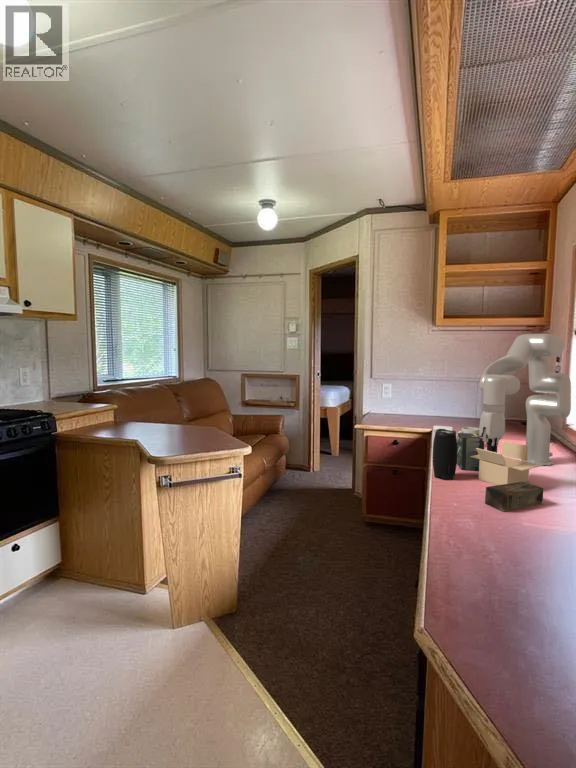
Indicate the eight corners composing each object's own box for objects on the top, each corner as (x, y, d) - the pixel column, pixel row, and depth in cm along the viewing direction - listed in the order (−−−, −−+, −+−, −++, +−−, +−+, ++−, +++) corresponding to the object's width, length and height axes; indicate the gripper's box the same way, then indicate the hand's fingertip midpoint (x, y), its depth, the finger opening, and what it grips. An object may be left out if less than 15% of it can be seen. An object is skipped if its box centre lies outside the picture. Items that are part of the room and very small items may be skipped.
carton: (488, 471, 176) (489, 452, 175) (541, 486, 157) (542, 465, 156) (467, 476, 169) (468, 456, 168) (520, 492, 150) (521, 470, 149)
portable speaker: (431, 473, 173) (433, 427, 171) (455, 475, 170) (457, 429, 168) (432, 479, 165) (433, 431, 163) (456, 481, 162) (458, 433, 160)
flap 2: (501, 454, 170) (502, 454, 170) (527, 460, 161) (527, 460, 161) (502, 440, 169) (502, 440, 169) (527, 445, 160) (528, 445, 160)
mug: (479, 446, 222) (480, 428, 221) (477, 449, 214) (478, 430, 213) (458, 443, 228) (459, 425, 227) (455, 446, 220) (456, 428, 219)
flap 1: (476, 447, 161) (475, 448, 161) (501, 453, 152) (501, 454, 152) (481, 458, 163) (481, 459, 163) (506, 465, 154) (506, 465, 154)
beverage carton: (544, 504, 138) (545, 486, 138) (503, 513, 131) (504, 493, 131) (522, 496, 146) (523, 479, 145) (483, 504, 139) (484, 485, 138)
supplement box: (431, 458, 196) (432, 428, 194) (432, 454, 204) (433, 425, 203) (451, 460, 192) (452, 429, 191) (451, 456, 200) (452, 426, 199)
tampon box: (483, 471, 175) (485, 438, 174) (461, 470, 177) (462, 437, 176) (477, 464, 186) (478, 433, 185) (456, 463, 188) (457, 432, 187)
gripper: (496, 405, 163) (494, 450, 165) (472, 409, 155) (470, 455, 157) (514, 408, 156) (512, 454, 158) (490, 411, 149) (488, 460, 151)
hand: (491, 455), depth 158 cm, fingers closed
